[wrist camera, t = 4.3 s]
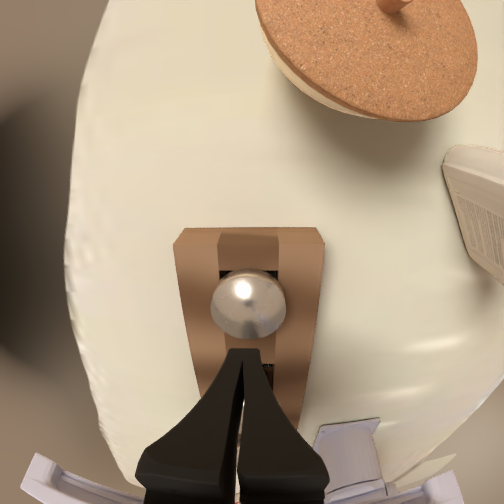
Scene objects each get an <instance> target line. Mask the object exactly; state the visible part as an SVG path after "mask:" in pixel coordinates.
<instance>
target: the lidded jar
mask: <svg viewBox="0 0 504 504" xmlns="http://www.w3.org/2000/svg"><path fill="white" fill-rule="evenodd" d="M255 5H256V11H257V15H258V18H259V24H260V28H261V32H262V35H263V39H264V42H265V44H266V46H267V48H268V50H269V52H270V55H271V57H272V58H273V60H274V61H275V63H276V64H277V66H278V67H279V69H280V70H281V71H282V72H283V73H284V75H285V76H286V77H287V78H288V79H289V80H290V81H291V82H292V83H293V84H294V85H295V86H297V87H298V88H299V89H300V90H301V91H302V92H304V93H305V94H307V95H308V96H310V97H311V98H313V99H314V100H316V101H318V102H320V103H322V104H323V105H325V106H327V107H329V108H332V109H335V110H337V111H340V112H343V113H346V114H351V115H355V116H359V117H363V118H372V119H381V120H389V121H397V122H410V121H425V120H429V119H434V118H437V117H439V116H442V115H444V114H446V113H448V112H450V111H451V110H452V109H454V108H455V107H456V106H458V105H459V104H460V103H461V101H462V100H463V99H464V98H465V97H466V95H467V94H468V92H469V90H470V88H471V86H472V84H473V81H474V77H475V74H476V71H477V59H478V56H477V43H476V38H475V34H474V30H473V27H472V24H471V21H470V18H469V16H468V14H467V12H466V10H465V8H464V6H463V4H462V3H461V1H460V0H255Z"/></svg>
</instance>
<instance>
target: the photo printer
mask: <svg viewBox="0 0 504 504" xmlns="http://www.w3.org/2000/svg"><path fill="white" fill-rule="evenodd" d="M442 168H443V172H444V177H445V180H446V183H447V186H448V189H449V192H450V196H451V199H452V202H453V205H454V208H455V212H456V215H457V218H458V222H459V225H460V229H461V232H462V236H463V239H464V243H465V246H466V249H467V251H468V254H469V255H470V257H471V258H472V259H473V260H474V261H475V262H476V263H478V264H479V265H480V266H481V267H483V268H484V269H485V270H486V271H488V272H489V273H490V274H491V275H492V276H493V277H495V278H496V279H497V280H498V281H499V282H500V283H501V284H503V285H504V151H501V150H497V149H493V148H488V147H483V146H478V145H468V146H465V145H456V146H454V147H452V148H451V149H450V150H449V151H448V152H447V154H446V156H445V158H444V163H443V164H442Z"/></svg>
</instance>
